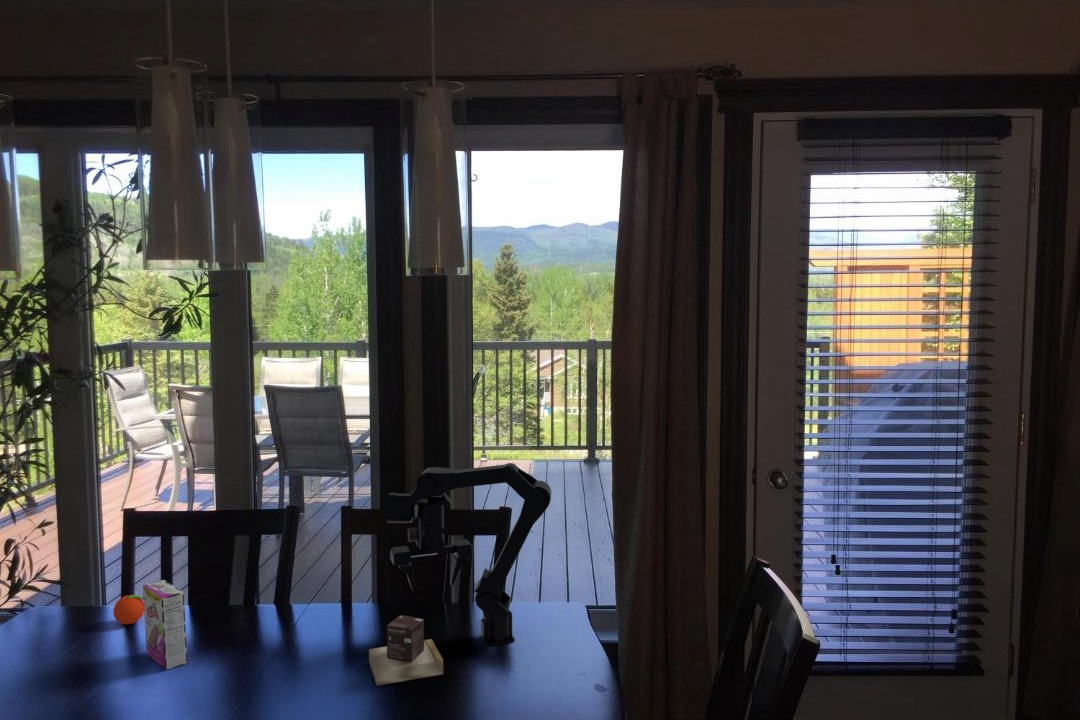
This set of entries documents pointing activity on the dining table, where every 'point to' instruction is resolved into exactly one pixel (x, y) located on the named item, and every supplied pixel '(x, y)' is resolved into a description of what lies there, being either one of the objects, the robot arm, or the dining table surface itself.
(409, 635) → the box
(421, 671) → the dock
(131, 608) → the clementine
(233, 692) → the dining table surface
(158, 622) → the candy bar box
